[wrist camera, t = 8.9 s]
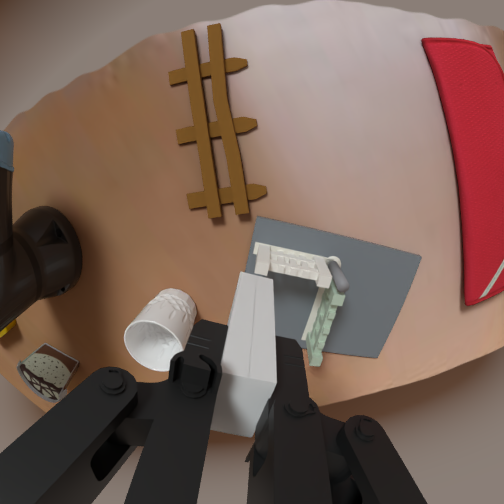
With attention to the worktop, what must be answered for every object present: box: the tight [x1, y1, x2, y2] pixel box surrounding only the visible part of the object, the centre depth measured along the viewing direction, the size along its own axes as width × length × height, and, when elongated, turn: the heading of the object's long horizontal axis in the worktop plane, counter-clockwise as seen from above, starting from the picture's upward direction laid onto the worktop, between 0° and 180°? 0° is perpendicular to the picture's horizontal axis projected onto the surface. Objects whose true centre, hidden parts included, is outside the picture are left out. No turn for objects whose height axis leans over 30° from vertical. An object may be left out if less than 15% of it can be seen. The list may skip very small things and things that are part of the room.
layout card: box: [245, 216, 422, 358], centre depth 40 cm, size 24×18×1 cm
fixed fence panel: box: [254, 244, 332, 288], centre depth 35 cm, size 8×1×6 cm, turn 78°
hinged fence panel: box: [306, 261, 350, 367], centre depth 36 cm, size 13×1×6 cm, turn 170°
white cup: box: [124, 288, 197, 371], centre depth 38 cm, size 8×8×10 cm
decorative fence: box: [168, 23, 267, 218], centre depth 33 cm, size 25×2×10 cm
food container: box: [17, 343, 79, 403], centre depth 45 cm, size 12×6×10 cm, turn 72°
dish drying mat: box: [421, 38, 504, 306], centre depth 31 cm, size 16×41×4 cm, turn 16°
